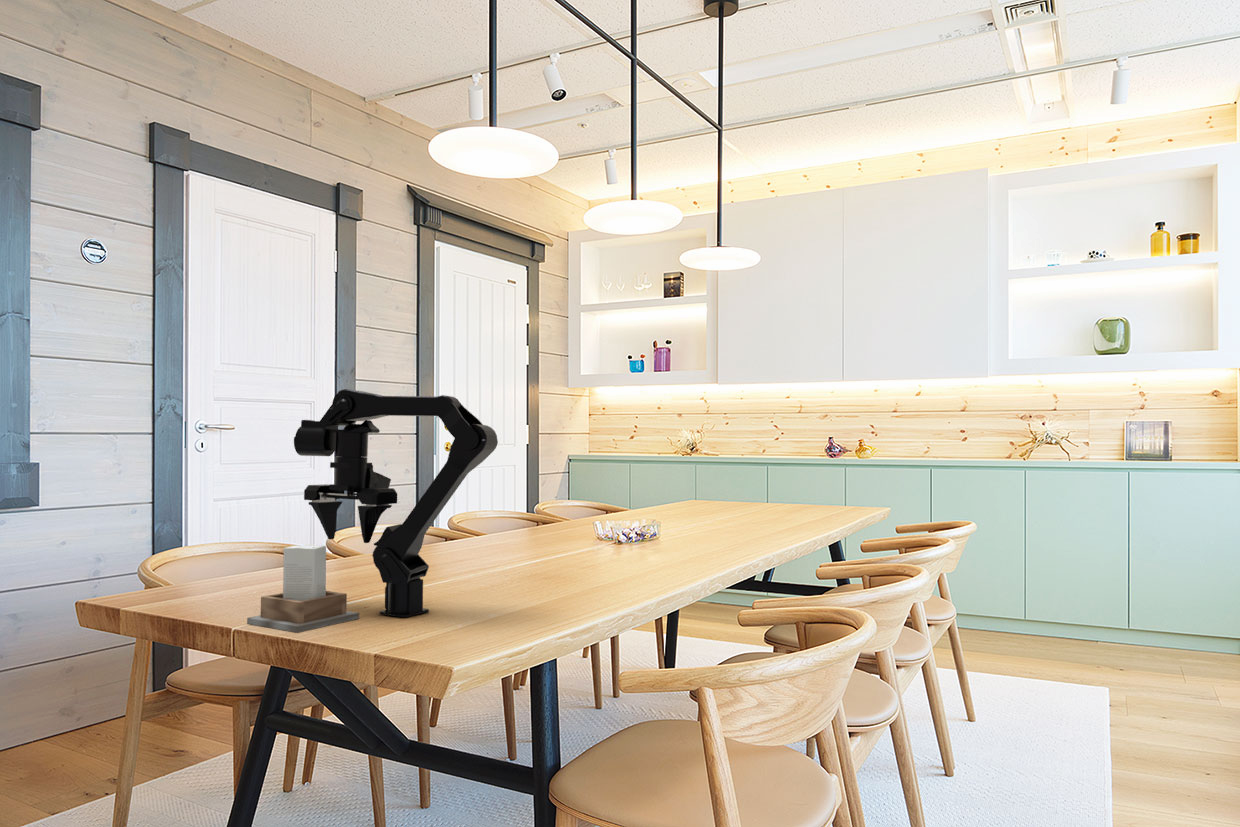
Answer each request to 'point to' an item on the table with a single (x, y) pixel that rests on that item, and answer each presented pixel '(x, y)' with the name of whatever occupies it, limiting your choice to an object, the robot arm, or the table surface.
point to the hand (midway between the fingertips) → (348, 541)
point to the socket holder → (303, 612)
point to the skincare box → (304, 572)
